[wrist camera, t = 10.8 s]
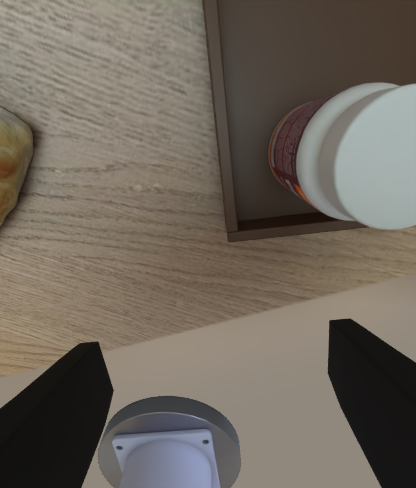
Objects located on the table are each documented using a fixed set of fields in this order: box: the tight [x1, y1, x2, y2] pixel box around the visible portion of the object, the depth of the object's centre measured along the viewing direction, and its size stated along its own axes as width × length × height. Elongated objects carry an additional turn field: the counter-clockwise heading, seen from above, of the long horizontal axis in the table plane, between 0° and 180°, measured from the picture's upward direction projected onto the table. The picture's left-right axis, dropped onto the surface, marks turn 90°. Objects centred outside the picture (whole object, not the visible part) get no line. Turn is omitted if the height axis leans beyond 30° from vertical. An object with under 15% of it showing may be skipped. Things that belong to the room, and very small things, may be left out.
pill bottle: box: [268, 82, 416, 230], centre depth 12 cm, size 5×5×8 cm
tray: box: [202, 0, 416, 242], centre depth 14 cm, size 16×13×3 cm
